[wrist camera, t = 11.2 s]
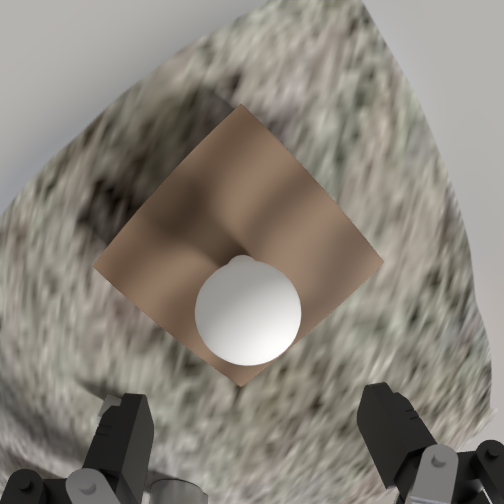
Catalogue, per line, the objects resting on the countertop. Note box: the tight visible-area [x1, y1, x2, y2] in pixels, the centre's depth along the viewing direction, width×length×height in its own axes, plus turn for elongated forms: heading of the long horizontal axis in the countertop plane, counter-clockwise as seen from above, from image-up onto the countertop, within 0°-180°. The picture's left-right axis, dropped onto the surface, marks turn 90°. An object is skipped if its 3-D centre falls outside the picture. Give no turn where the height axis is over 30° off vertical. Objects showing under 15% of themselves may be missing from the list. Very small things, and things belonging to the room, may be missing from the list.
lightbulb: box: [195, 255, 301, 366], centre depth 21 cm, size 6×6×11 cm
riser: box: [93, 104, 384, 387], centre depth 28 cm, size 18×18×5 cm
